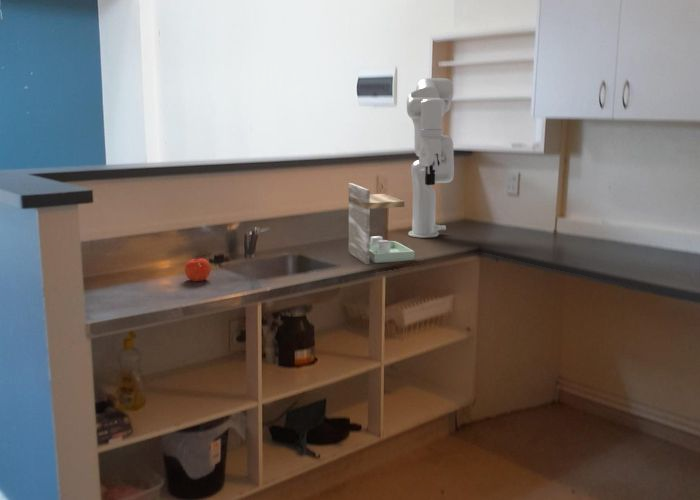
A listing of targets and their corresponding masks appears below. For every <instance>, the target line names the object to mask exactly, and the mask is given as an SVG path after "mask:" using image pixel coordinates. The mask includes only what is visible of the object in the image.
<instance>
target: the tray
mask: <svg viewBox="0 0 700 500" xmlns="http://www.w3.org/2000/svg"><path fill="white" fill-rule="evenodd" d="M389 241H390V253H375V252H373V251H371V242H369V261H371V262H373V263H374V264H381V263H382V264H383V263H392V262H393V263H394V262H406V261H407V262H408V261H415V250H414V249H411V248H409V247H407V246H405V245H403V244H402V243H400V242H398V241H396V240H389Z"/></svg>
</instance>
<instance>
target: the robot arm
mask: <svg viewBox="0 0 700 500" xmlns="http://www.w3.org/2000/svg"><path fill="white" fill-rule="evenodd" d="M453 97H454V85H453V81H452V80H451V79H449V78H446V77H445V78H444V77H443V78H442V77H441V78H440V77H437V78H435V77H429V78H428V77H427V78H422V79H421V80H419V81H418V82H417V85H416V89H415V90H414V91H412V92H410V93H409V94H408V96H407V99H406V112H407V115H408V117H409V118H410V119H411V121H412V123H413V127H414V152H415V155H416V157H418V160H415V161H414V162H413V163H412V164H411V169H410V171H411V173H410V174H411V181H412V218H411V219H412V224H411V227H412V229H411V230H410V231H408V236H410V237H413V238H422V239H424V238H425V239H426V238H427V239H428V238H436V237H439V235H440V234H439V231H446V230H447V227H446V225H440V224H436V212H437V211H436V208H437V207H436V206H437V205H436V204H437V203H436V202H437V201H436V200H437V194H436V193H437V192H436V191H435V189H434V188H433V187H432V186H434V185H435V184H447V183H452V181H453V180H454V176H455V161H454V160H455V159H454V158H455V157H454V151H455V150H454V142H453V139H452V138H451V136H449V135H444V134H442V133H443V132H442V129H443V127H442V125H443V117H444V115H445V114H446V113H447V112H449V111H450V110H451V107H452V101H453Z"/></svg>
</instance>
